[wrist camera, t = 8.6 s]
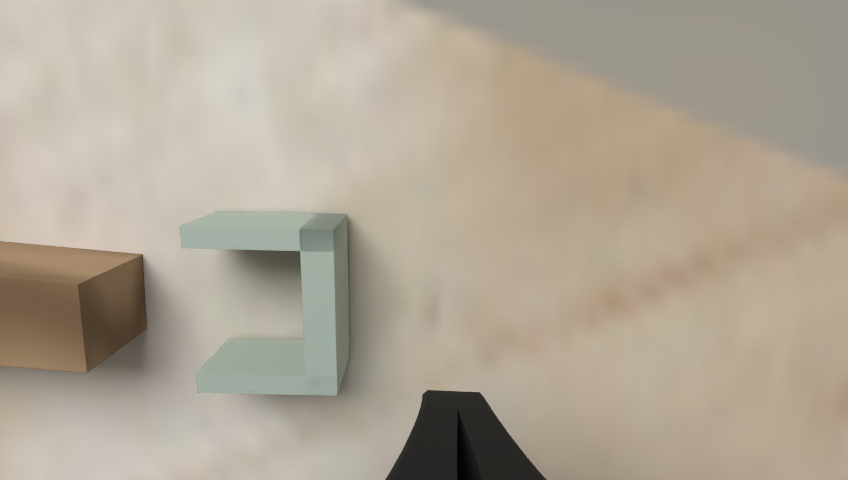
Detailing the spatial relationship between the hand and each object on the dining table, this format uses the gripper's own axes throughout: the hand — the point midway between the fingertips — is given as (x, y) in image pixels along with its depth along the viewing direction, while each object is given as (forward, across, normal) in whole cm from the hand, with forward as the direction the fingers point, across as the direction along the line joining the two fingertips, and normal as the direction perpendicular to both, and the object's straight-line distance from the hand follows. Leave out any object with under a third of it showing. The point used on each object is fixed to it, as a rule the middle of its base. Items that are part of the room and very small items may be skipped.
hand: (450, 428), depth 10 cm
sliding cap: (+10, +7, 0) cm, 12 cm away
